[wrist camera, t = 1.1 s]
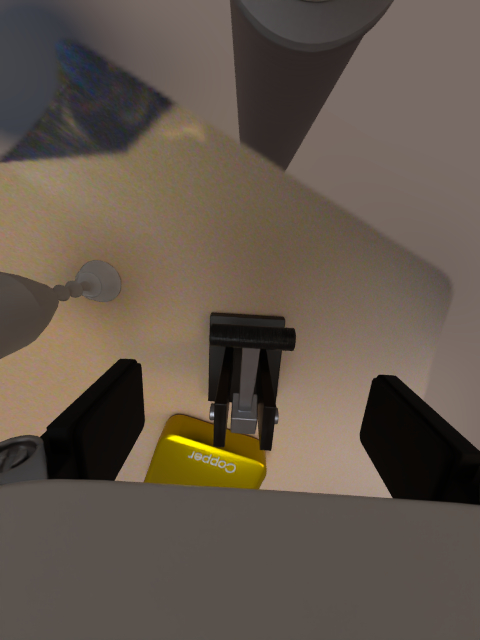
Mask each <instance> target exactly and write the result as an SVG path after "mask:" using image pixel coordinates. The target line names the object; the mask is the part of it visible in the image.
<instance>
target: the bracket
mask: <svg viewBox="0 0 480 640" xmlns="http://www.w3.org/2000/svg"><path fill="white" fill-rule="evenodd" d="M212 323H217V324H233V325H250V326H266V327H282V328H285V318H284V317H274V316H258V315H242V314H225V313H211V315H210V327H211V324H212ZM281 353H282V350H266V349H260V353H259V360H258V367H257V373H256V380H255V387H254V394H256V395H257V414H258V431H259V446H260V450H269V451H271V449H272V440H273V432H274V424H278V408H276V396H277V388H278V379H279V371H280V362H281ZM241 361H242V348H234V347H218V346H210V347H209V393H208V401H215V403H214V404H213V403H212V404H211V407H210V420H214V434H213V446H214V447H225V439H226V430H227V420H228V411H229V402H232V398H233V393H239V389H240V375H241Z"/></svg>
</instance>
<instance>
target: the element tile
mask: <svg viewBox="0 0 480 640" xmlns="http://www.w3.org/2000/svg"><path fill="white" fill-rule="evenodd" d="M213 434H214V425H213V424H210V423H207V422H204V421H201V420H198V419H195V418H192V417H189V416H186V415H174V416H172V417H171V418H170V419H169V420H168V421H167V422H166V424H165V427H164V429H163V431H162V434H161V436H160V438H159V440H158V443H157V446H156V449H155V452H154V454H153V457H152V460H151V463H150V466H149V469H148V471H147V474H146V477H145V480H144V483H160V484H177V485H195V486H212V487H229V488H245V489H259V488H260V486H261V484H262V482H263V480H264V478H265V476H266V458H265V450H260V446H259V440H257V439H255V438H252V437H249V436H246V435H243V434H240V433H231V430H228V429H227V430H226V439H225V447H214V446H213Z"/></svg>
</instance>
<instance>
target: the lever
mask: <svg viewBox="0 0 480 640" xmlns="http://www.w3.org/2000/svg"><path fill="white" fill-rule="evenodd" d="M209 341H210V346H218V347H234V348H242V361H241V375H240V389H239V393H233V398H232V412H231V433H243V434H255V430H256V425H257V420H258V414H257V395H256V394H254V387H255V380H256V373H257V367H258V360H259V353H260V349H266V350H282V351H293V350H294V348H295V342H296V333H295V329H294V328H282V327H266V326H250V325H233V324H217V323H212V324H211V327H210V338H209Z"/></svg>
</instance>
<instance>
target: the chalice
mask: <svg viewBox="0 0 480 640" xmlns="http://www.w3.org/2000/svg"><path fill="white" fill-rule="evenodd" d="M120 289H121V279H120V277H119V275H118V273H117V271H116V270H115V269H114V268H113V267H112V266H111V265H109V264H108V263H106V262H103V261H99V260H93V261H90V262H87V263H86V264H85V265H83V267H82V268H81V269H80V271H79V272H78V273H77V275H76V279H75V281H69V282H67V283H66V285H65V286H63V285H56V286H54V288H53V289H52V288H50V287H49V286H47V285H45V284H42V283H39V282H36V281H33V280H30V279H28V278H24V277H21V276H18V275H14V274H9V273H3V272H0V359H1V358H3V357H5V356H7V355H9V354H11V353H13V352H15V351H18V350H20V349H22V348H24V347H26V346H27V345H29V344H30V343H32V342H33V341H35V340H36V339H37V338H38V337H39V335H40V334H41V333H42V332H43V331H44V329H45V328H46V327H47V326H48V324H49V323H50V321H51V319H52V317H53V315H54V313H55V311H56V309H57V307H58V303H59V301H58V300H60V301H66V300H68V299H69V297H70V296H71V297H75V298H77V297H80V296H81V295H83V296H84V297H86V298H88V299H91V300H95V301H99V302H108V301H111V300H113V299H114V298H116V297H117V296H118V294H119V292H120Z"/></svg>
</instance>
